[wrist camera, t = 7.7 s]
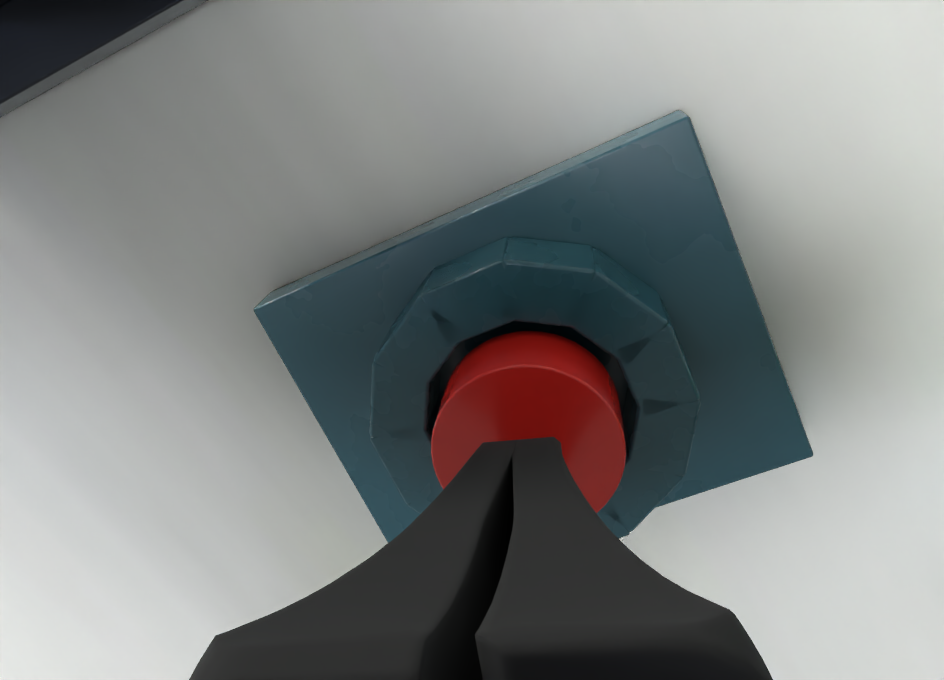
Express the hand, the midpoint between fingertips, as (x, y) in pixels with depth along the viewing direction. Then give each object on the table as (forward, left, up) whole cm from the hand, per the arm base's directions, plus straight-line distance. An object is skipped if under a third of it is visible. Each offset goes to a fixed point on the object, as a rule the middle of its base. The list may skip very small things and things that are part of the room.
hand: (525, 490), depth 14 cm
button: (0, 0, -3) cm, 3 cm away
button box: (0, 0, -6) cm, 6 cm away
